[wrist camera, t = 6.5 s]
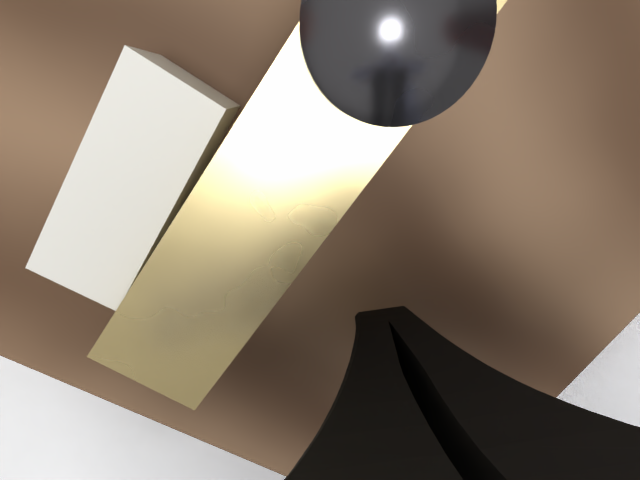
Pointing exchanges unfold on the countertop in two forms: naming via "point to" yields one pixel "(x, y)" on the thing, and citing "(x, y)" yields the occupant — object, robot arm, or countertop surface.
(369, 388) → the robot arm
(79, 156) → the white rectangular block
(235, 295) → the bar
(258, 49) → the plate
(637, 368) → the countertop surface
